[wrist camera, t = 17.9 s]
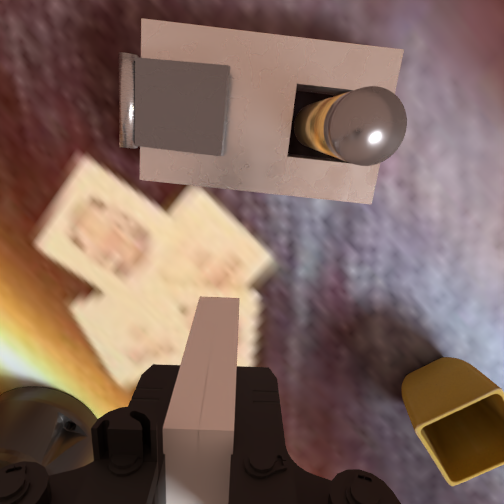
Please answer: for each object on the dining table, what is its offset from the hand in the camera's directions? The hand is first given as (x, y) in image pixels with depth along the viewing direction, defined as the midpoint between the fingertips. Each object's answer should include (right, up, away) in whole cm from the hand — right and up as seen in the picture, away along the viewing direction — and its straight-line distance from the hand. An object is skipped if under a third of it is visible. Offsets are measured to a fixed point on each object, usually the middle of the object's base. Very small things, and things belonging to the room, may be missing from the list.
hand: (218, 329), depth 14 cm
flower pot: (+23, -12, +29) cm, 39 cm away
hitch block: (+2, +15, +20) cm, 26 cm away
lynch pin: (+7, +15, +20) cm, 26 cm away
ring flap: (-5, +14, +15) cm, 21 cm away
